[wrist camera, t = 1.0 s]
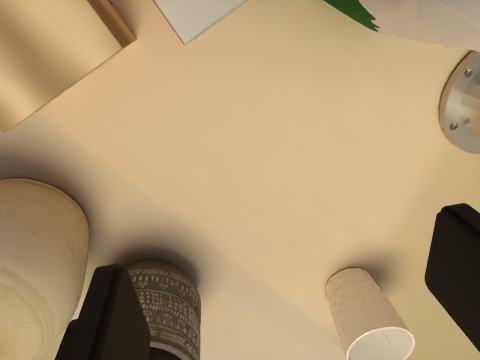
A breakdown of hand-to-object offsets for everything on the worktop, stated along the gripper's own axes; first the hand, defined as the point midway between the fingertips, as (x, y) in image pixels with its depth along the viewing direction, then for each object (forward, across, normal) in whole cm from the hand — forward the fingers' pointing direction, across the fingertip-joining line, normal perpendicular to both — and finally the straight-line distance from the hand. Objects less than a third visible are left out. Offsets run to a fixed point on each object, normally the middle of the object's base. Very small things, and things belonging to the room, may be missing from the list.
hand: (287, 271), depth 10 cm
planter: (+26, +12, +24) cm, 38 cm away
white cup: (+26, -13, +30) cm, 42 cm away
